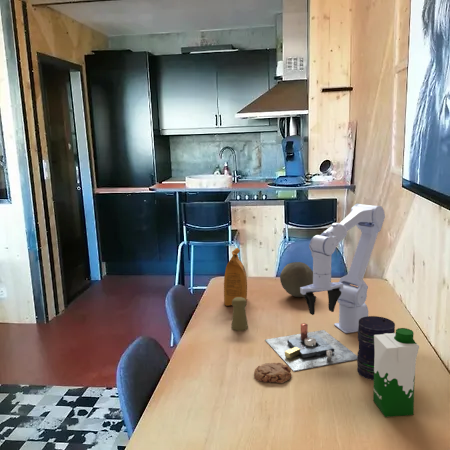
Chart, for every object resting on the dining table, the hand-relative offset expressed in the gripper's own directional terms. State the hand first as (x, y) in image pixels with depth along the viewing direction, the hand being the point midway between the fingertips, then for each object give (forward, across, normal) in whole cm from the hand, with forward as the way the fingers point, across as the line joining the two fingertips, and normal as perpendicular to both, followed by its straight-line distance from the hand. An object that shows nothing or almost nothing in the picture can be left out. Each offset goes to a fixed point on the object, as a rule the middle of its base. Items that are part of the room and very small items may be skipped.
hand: (321, 312), depth 148 cm
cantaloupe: (+10, -11, -41) cm, 43 cm away
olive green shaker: (+10, +22, -20) cm, 31 cm away
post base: (+10, +6, +4) cm, 12 cm away
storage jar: (+10, -4, +23) cm, 26 cm away
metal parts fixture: (+9, +9, +4) cm, 13 cm away
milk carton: (+10, +2, +40) cm, 41 cm away
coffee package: (+10, +15, -45) cm, 48 cm away
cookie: (+10, +24, +15) cm, 30 cm away
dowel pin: (+10, +4, +13) cm, 17 cm away
